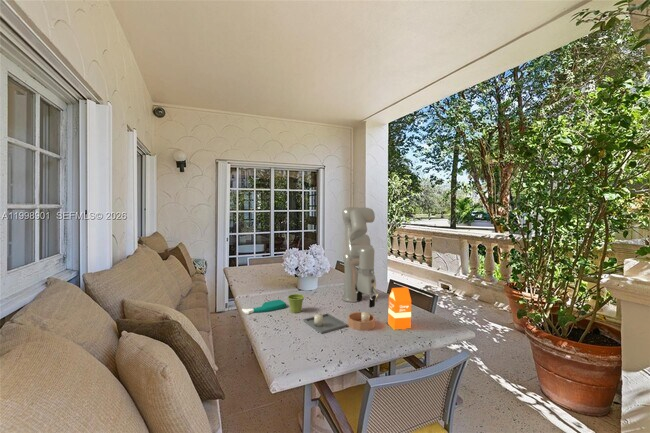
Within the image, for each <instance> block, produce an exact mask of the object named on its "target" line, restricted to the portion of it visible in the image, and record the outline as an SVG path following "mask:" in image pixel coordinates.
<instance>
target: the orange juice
mask: <svg viewBox="0 0 650 433" xmlns="http://www.w3.org/2000/svg"><path fill="white" fill-rule="evenodd" d="M387 312H388V317H387V318H388V319H387V320H388V321H387V325H389V327H391V328H392V329H393V330H394V331H396V330H395V329H402V330H407V329H406V328H411V326H412V322H411V321H412V298H411V294H410V290H409V287H408V286H405V287H391V291H390V293H389V295H388V310H387Z"/></svg>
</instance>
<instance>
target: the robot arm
mask: <svg viewBox="0 0 650 433" xmlns="http://www.w3.org/2000/svg"><path fill="white" fill-rule="evenodd" d="M341 217H342V221H343V223H344V226H345V247H346V249H347V250H346V251H345V252H344V253H343V255H342V256H343V264H344V265H343V266H344V282H343V283H344V288H343V289H344V290H343V295H342V296H341V301H345V302H348V303H357V302H360V301H363V295H367V296H369V304H368V305H369V306H368V307H369V308H374V307H375V306H376V299H377V298H378V296H379V294H380V293H379V291H378V290H377V280H376V274H375V248H374V247H373V245H372V244H371V238H370V235H368V234H367V232H368V226H367V223H369V224H370V223H373V222H375V218H376V215H375V211H374V210H373V208H369V207H359V206H358V207H357V206H356V207H354V206H352V207H345V208H343V210H342V216H341ZM357 267H358V268H357Z"/></svg>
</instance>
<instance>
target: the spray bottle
mask: <svg viewBox="0 0 650 433" xmlns="http://www.w3.org/2000/svg"><path fill="white" fill-rule="evenodd" d="M287 306H288V305H287V302H285V301H283V300H282V299H274V300H270V301H269V300H268V301H266V302H263V303H262V304H261V306H257V307H253V308H251V307H250V308H242V309H241V310H242V312H243V313H244V314H246V315H250V314H252V313H264V312H265V313H268V312H273V311H277V310H283V309H286V308H287Z"/></svg>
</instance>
